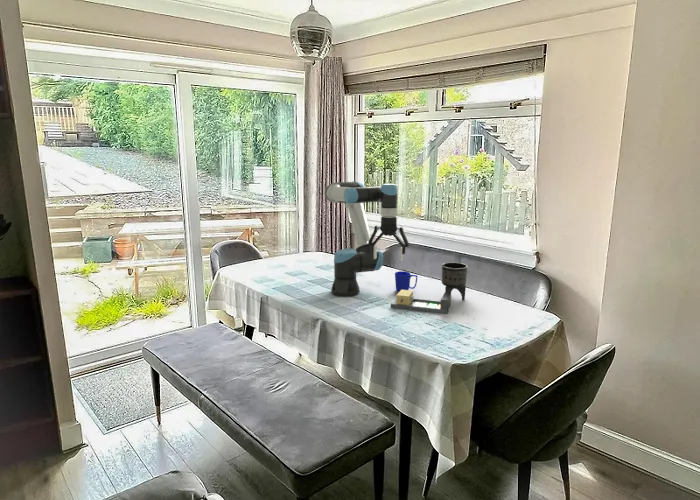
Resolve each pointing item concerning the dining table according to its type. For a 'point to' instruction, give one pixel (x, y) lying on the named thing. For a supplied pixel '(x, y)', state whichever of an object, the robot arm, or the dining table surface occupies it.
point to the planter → (454, 277)
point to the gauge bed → (422, 306)
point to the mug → (403, 280)
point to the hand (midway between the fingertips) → (388, 259)
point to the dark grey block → (446, 301)
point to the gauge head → (405, 297)
